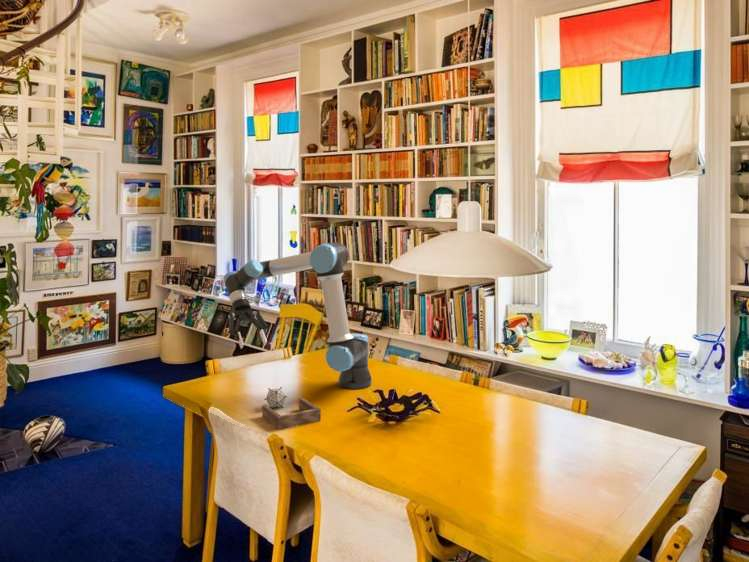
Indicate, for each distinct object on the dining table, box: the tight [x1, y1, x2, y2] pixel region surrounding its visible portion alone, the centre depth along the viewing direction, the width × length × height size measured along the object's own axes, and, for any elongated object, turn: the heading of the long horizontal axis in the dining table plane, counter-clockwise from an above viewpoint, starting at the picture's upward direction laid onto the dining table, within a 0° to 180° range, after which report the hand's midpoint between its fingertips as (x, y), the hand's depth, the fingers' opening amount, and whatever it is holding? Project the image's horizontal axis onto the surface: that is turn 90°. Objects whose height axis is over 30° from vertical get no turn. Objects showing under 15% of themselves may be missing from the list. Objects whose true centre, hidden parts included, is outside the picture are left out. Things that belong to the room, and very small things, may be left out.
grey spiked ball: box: [263, 386, 288, 409], centre depth 236 cm, size 9×8×10 cm
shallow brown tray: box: [261, 397, 322, 430], centre depth 225 cm, size 17×15×4 cm
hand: (254, 344), depth 252 cm, fingers open, 10 cm apart
